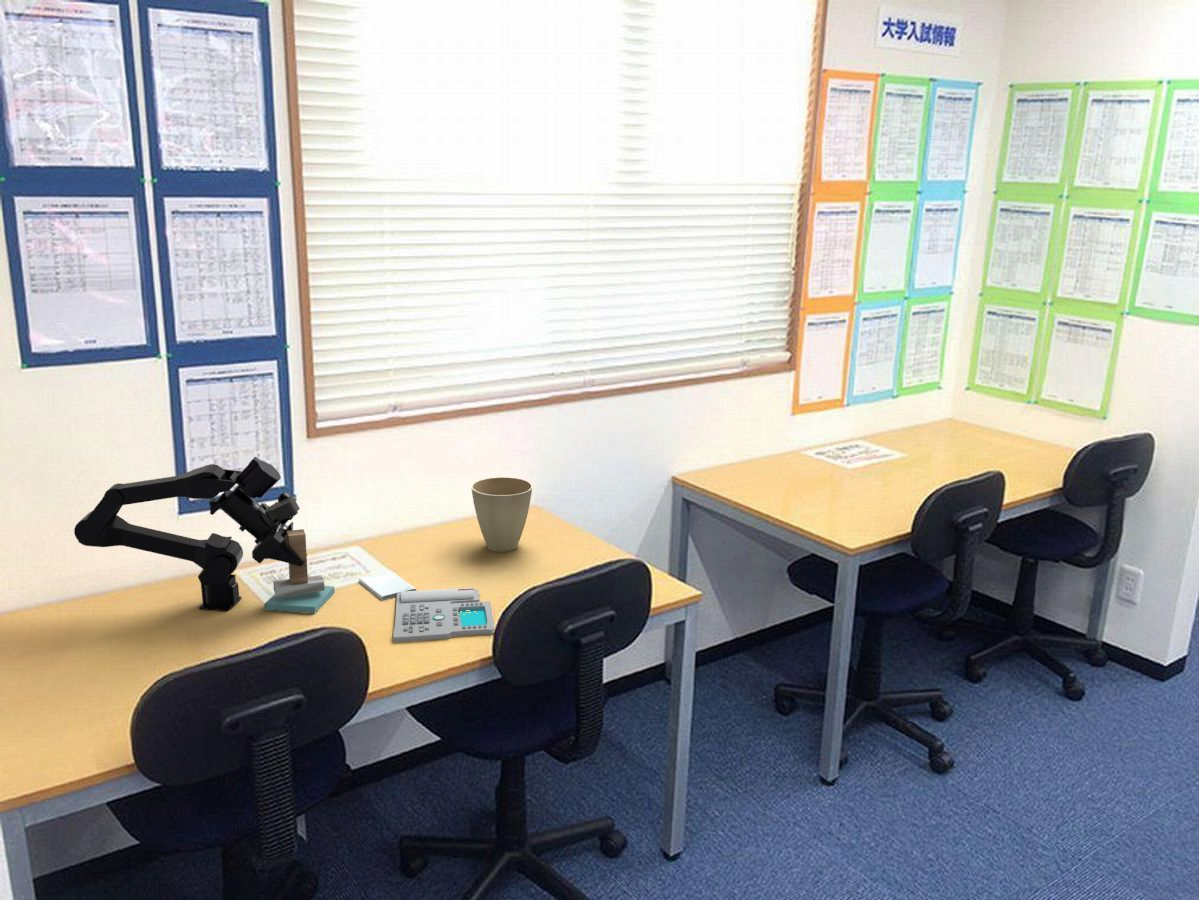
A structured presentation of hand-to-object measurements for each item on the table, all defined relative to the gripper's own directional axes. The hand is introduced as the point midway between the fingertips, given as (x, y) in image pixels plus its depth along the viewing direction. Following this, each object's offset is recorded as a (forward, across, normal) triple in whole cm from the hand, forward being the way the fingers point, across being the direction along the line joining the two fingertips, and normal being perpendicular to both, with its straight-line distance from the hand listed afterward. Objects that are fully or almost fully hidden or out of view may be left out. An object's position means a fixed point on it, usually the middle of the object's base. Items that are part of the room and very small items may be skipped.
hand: (304, 560), depth 211 cm
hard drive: (+19, +6, -5) cm, 21 cm away
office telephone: (+27, -10, -14) cm, 32 cm away
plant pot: (+37, +29, -24) cm, 53 cm away
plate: (+6, 0, +7) cm, 9 cm away
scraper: (+4, 0, +6) cm, 7 cm away
